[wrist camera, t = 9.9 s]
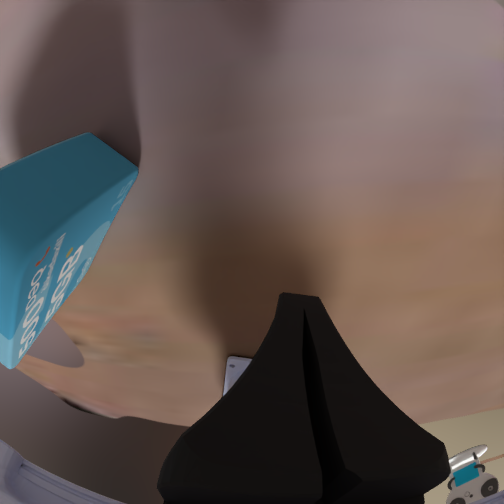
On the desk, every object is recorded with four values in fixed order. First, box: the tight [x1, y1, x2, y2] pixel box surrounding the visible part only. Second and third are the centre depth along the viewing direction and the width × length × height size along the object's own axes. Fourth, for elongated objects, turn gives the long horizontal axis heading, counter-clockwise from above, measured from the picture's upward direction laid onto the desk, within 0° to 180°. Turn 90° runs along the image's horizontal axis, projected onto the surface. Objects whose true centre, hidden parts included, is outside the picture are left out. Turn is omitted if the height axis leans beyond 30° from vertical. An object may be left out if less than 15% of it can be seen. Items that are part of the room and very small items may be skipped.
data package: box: [0, 132, 138, 369], centre depth 16 cm, size 12×4×12 cm, turn 142°
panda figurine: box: [446, 445, 499, 504], centre depth 35 cm, size 12×11×15 cm
